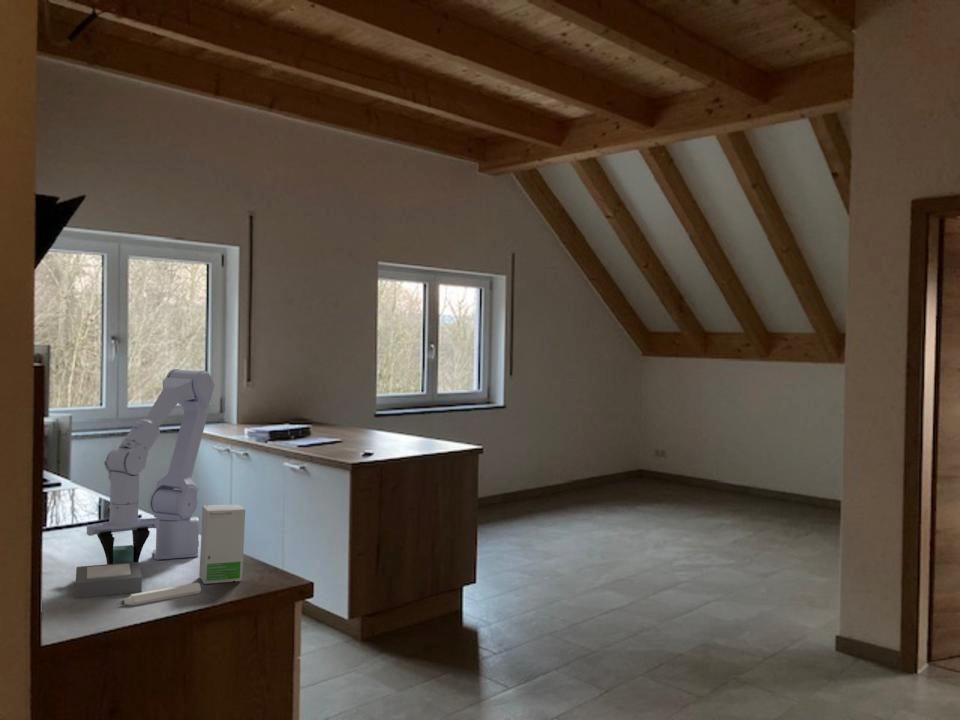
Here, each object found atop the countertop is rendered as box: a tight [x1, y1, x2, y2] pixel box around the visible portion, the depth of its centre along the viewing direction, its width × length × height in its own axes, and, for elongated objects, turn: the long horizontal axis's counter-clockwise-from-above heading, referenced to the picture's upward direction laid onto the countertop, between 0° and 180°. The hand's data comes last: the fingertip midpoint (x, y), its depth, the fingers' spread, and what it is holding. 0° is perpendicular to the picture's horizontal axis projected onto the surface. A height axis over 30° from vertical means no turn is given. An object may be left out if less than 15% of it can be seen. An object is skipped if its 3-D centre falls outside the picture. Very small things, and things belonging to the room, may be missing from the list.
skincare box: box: [198, 504, 246, 585], centre depth 172 cm, size 8×7×16 cm
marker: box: [116, 582, 202, 606], centre depth 157 cm, size 3×2×16 cm
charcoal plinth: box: [74, 561, 143, 599], centre depth 164 cm, size 12×12×3 cm
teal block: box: [113, 544, 134, 564], centre depth 175 cm, size 4×4×5 cm
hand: (122, 564), depth 175 cm, fingers closed on teal block, 5 cm apart
